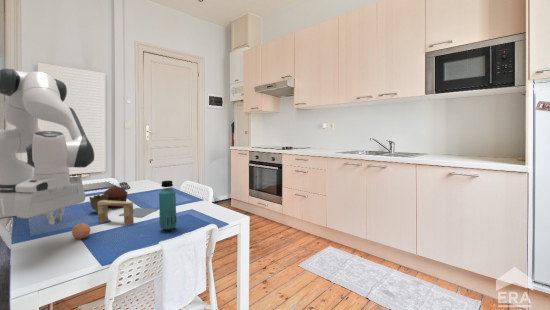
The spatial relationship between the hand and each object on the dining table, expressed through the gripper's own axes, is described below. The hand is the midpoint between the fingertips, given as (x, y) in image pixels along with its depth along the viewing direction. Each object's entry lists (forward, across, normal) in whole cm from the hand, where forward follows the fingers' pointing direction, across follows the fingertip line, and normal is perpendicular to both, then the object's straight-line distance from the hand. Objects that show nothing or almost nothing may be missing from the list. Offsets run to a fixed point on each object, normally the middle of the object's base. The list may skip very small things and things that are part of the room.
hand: (55, 223), depth 86 cm
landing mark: (+9, -40, 0) cm, 41 cm away
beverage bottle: (+10, -23, +26) cm, 36 cm away
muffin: (+9, -47, -18) cm, 51 cm away
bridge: (+9, -26, 0) cm, 28 cm away
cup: (+9, -37, -18) cm, 42 cm away
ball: (+6, -10, 0) cm, 11 cm away
